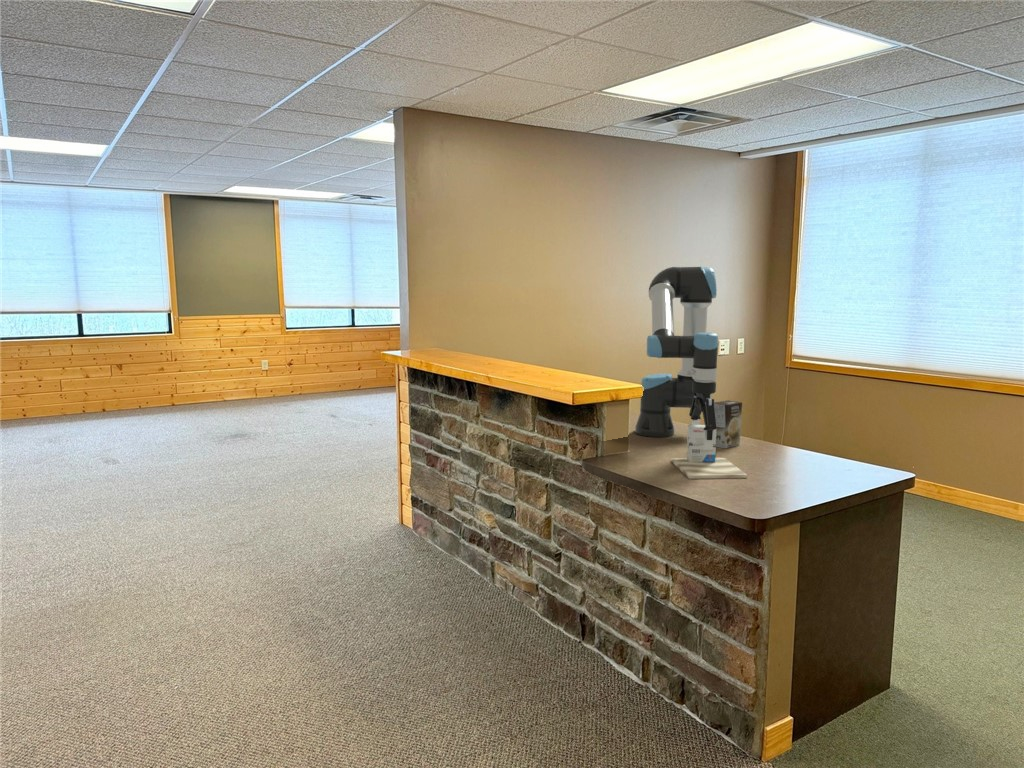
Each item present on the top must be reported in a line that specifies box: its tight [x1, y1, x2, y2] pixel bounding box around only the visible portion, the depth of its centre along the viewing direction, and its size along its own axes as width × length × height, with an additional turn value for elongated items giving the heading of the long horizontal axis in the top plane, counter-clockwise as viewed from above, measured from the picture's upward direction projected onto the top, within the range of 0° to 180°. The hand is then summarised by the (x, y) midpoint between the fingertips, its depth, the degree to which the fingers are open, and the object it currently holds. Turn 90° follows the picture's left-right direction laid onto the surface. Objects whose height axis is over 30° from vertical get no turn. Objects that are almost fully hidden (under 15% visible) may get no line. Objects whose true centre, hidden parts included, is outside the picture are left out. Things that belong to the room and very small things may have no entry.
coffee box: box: [714, 399, 743, 449], centre depth 250 cm, size 9×6×16 cm
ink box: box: [686, 424, 717, 462], centre depth 226 cm, size 9×5×12 cm, turn 85°
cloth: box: [670, 457, 748, 480], centre depth 220 cm, size 20×18×1 cm
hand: (701, 444), depth 227 cm, fingers open, 13 cm apart
